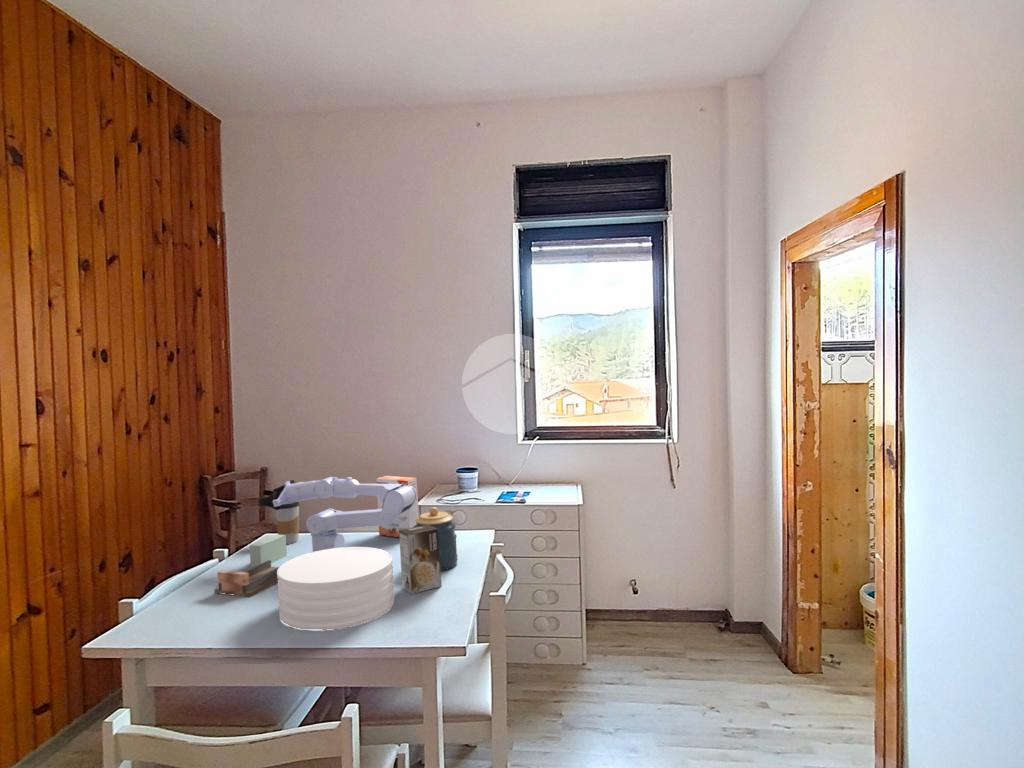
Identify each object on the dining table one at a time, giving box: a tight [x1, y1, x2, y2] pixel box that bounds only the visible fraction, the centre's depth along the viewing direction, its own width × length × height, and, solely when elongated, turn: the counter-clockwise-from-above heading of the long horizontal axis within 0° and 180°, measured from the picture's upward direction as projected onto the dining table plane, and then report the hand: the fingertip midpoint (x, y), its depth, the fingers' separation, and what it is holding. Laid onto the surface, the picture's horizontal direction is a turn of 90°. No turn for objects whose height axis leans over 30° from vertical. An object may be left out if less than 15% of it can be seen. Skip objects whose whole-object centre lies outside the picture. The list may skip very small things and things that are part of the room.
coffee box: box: [398, 525, 442, 595], centre depth 169 cm, size 9×6×16 cm
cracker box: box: [376, 475, 420, 538], centre depth 221 cm, size 14×6×21 cm, turn 62°
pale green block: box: [249, 534, 288, 568], centre depth 198 cm, size 4×12×7 cm, turn 162°
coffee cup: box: [274, 501, 300, 545], centre depth 219 cm, size 8×8×15 cm
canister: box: [413, 506, 458, 572], centre depth 187 cm, size 13×13×18 cm
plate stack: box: [277, 546, 395, 630], centre depth 157 cm, size 28×28×12 cm
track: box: [214, 560, 280, 597], centre depth 178 cm, size 12×20×6 cm, turn 162°
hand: (267, 497), depth 201 cm, fingers open, 7 cm apart
